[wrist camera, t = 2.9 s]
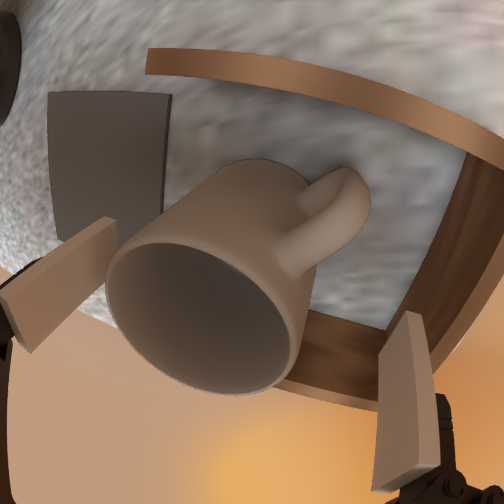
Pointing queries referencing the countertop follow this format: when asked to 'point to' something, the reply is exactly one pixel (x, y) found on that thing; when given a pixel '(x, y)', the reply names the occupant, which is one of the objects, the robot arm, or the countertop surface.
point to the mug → (232, 274)
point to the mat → (107, 159)
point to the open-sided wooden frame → (443, 246)
